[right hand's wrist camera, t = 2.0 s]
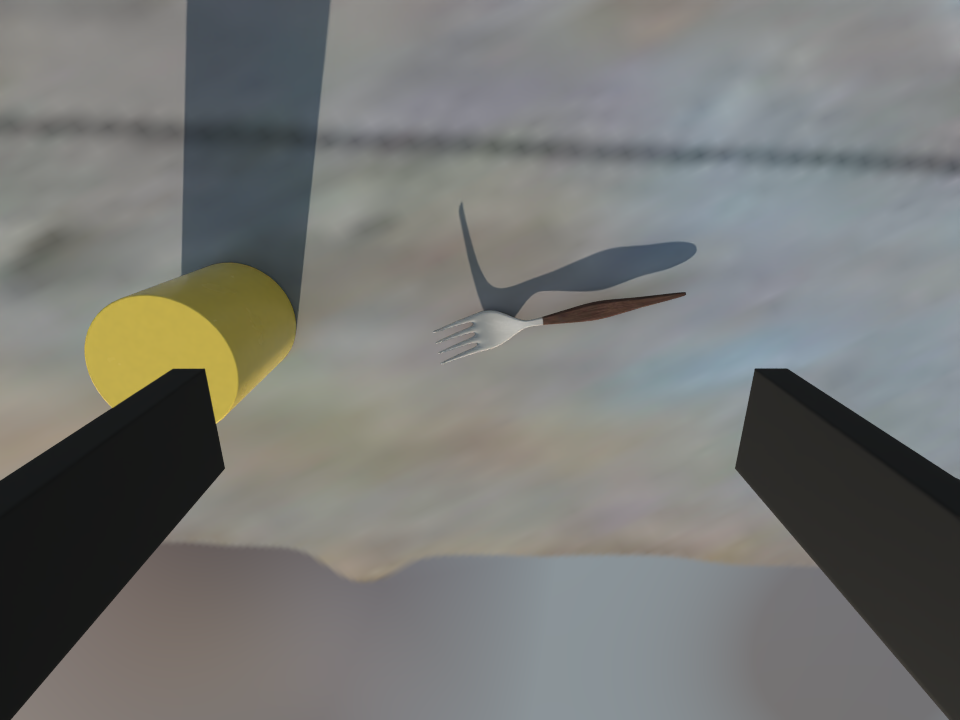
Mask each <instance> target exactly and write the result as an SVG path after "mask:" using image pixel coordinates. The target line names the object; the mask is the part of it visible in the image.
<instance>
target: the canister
mask: <svg viewBox="0 0 960 720" xmlns="http://www.w3.org/2000/svg"><path fill="white" fill-rule="evenodd" d="M295 334H296V320H295V314H294V311H293V308H292V305H291V303H290V301H289V299H288V297H287V295H286V294H285V293H284V291H283V290H282V288H281V287H280V286H279V285H278V284H277V283H276V282H275V281H274V280H273V279H271V278H270V277H269V276H267V275H266V274H264V273H263V272H261V271H259V270H257V269H255V268H253V267H250V266H248V265H244V264H240V263H218V264H214V265H210V266H207V267H205V268H202V269H199V270H196V271H194V272H191V273H188V274H186V275H183V276H180V277H178V278H175V279H172V280H169V281H167V282H164V283H161V284H159V285H156V286H153V287H151V288H148V289H145V290H142V291H140V292H137V293H134V294H132V295H129V296H126V297H123V298H121V299H119V300H116V301H114V302H112V303H111V304H109V305H108V306H106V307H105V308H103V309H102V310H101V311H100V312H99V313H98V314H97V316H96V317H95V318H94V320H93V321H92V323H91V325H90V327H89V329H88V332H87V335H86V340H85V360H86V365H87V369H88V372H89V375H90V377H91V379H92V382H93V384H94V385H95V387H96V389H97V390H98V392H99V393H100V394H101V396H102V397H103V398H104V400H105V401H106V402H107V403H108V404H109V405H110V406H111V407H112V408H113V407H115V406H116V405H118V404H119V403H121V402H122V401H124V400H125V399H127V398H128V397H130V396H132V395H133V394H135V393H136V392H138V391H139V390H141V389H142V388H144V387H145V386H147V385H148V384H150V383H152V382H153V381H155V380H156V379H158V378H159V377H161V376H162V375H164V374H165V373H167V372H168V371H170V370H172V369H205V371H206V376H207V381H208V386H209V391H210V396H211V401H212V406H213V411H214V416H215V421H216V424H217V423H218V422H219V421H220V420H222V419H223V418H224V417H225V416H226V415H227V414H228V413H229V412H230V411H231V410H232V409H233V408H234V407H235V406H236V405H237V404H238V403H239V402H240V401H241V400H242V399H243V398H244V397H245V396H246V395H247V394H248V393H249V392H250V391H251V390H252V389H253V388H254V387H255V386H256V385H257V384H258V383H259V382H260V381H262V380H263V379H264V378H265V377H266V376H267V375H268V374H269V373H270V372H271V371H272V370H273V369H274V368H275V367H276V366H277V365H278V364H279V363H280V362H281V361H282V360H283V359H284V358H285V357H286V355H287V354H288V353H289V351H290V349H291V347H292V345H293V342H294V339H295Z"/></svg>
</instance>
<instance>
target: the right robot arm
mask: <svg viewBox="0 0 960 720" xmlns="http://www.w3.org/2000/svg"><path fill="white" fill-rule="evenodd" d="M224 469H225V467H224V462H223V457H222V451H221V446H220V441H219V436H218V431H217V426H216V421H215V416H214V411H213V406H212V401H211V396H210V391H209V386H208V381H207V376H206V371H205V369H172V370H170V371H168V372H167V373H165V374H164V375H162V376H161V377H159V378H158V379H156V380H155V381H153V382H152V383H150V384H148V385H147V386H145V387H144V388H142V389H141V390H139V391H138V392H136V393H135V394H133V395H132V396H130V397H128V398H127V399H125V400H124V401H122V402H121V403H119V404H118V405H116V406H115V407H113V408H111V409H110V410H108V411H107V412H105V413H104V414H102V415H101V416H99V417H98V418H96V419H95V420H93V421H91V422H90V423H88V424H87V425H85V426H84V427H82V428H81V429H79V430H78V431H76V432H75V433H73V434H71V435H70V436H68V437H67V438H65V439H64V440H62V441H61V442H59V443H58V444H56V445H55V446H53V447H51V448H50V449H48V450H47V451H45V452H44V453H42V454H41V455H39V456H38V457H36V458H34V459H33V460H31V461H30V462H28V463H27V464H25V465H24V466H22V467H21V468H19V469H18V470H16V471H14V472H13V473H11V474H10V475H8V476H7V477H5V478H4V479H2V480H1V481H0V720H11V719H12V718H13V716H14V715H15V714H16V713H17V712H18V711H19V709H20V708H21V707H22V706H23V705H24V704H25V702H26V701H27V700H28V699H29V698H30V697H31V695H32V694H33V693H34V692H35V691H36V689H37V688H38V687H39V686H40V685H41V684H42V682H43V681H44V680H45V679H46V678H47V677H48V675H49V674H50V673H51V672H52V671H53V670H54V668H55V667H56V666H57V665H58V664H59V663H60V661H61V660H62V659H63V658H64V657H65V655H66V654H67V653H68V652H69V651H70V650H71V648H72V647H73V646H74V645H75V644H76V642H77V641H78V640H79V639H80V638H81V637H82V635H83V634H84V633H85V632H86V631H87V630H88V628H89V627H90V626H91V625H92V624H93V623H94V621H95V620H96V619H97V618H98V617H99V616H100V614H101V613H102V612H103V611H104V610H105V609H106V607H107V606H108V605H109V604H110V603H111V601H112V600H113V599H114V598H115V597H116V596H117V594H118V593H119V592H120V591H121V590H122V589H123V587H124V586H125V585H126V584H127V583H128V582H129V580H130V579H131V578H132V577H133V576H134V575H135V573H136V572H137V571H138V570H139V569H140V567H141V566H142V565H143V564H144V563H145V562H146V560H147V559H148V558H149V557H150V556H151V555H152V553H153V552H154V551H155V550H156V549H157V548H158V546H159V545H160V544H161V543H162V542H163V541H164V539H165V538H166V537H167V536H168V535H169V533H170V532H171V531H172V530H173V529H174V528H175V526H176V525H177V524H178V523H179V522H180V521H181V519H182V518H183V517H184V516H185V515H186V514H187V512H188V511H189V510H190V509H191V508H192V506H193V505H194V504H195V503H196V502H197V501H198V499H199V498H200V497H201V496H202V495H203V494H204V492H205V491H206V490H207V489H208V488H209V487H210V485H211V484H212V483H213V482H214V481H215V480H216V478H217V477H218V476H219V475H220V474H221V472H222V471H223V470H224ZM735 469H736V470H737V471H738V472H739V474H740V475H741V476H742V477H743V478H744V480H745V481H746V482H747V483H748V484H749V485H750V487H751V488H752V489H753V490H754V491H755V492H756V494H757V495H758V496H759V497H760V498H761V499H762V501H763V502H764V503H765V504H766V505H767V506H768V508H769V509H770V510H771V511H772V512H773V514H774V515H775V516H776V517H777V518H778V519H779V521H780V522H781V523H782V524H783V525H784V526H785V528H786V529H787V530H788V531H789V532H790V533H791V535H792V536H793V537H794V538H795V539H796V541H797V542H798V543H799V544H800V545H801V546H802V548H803V549H804V550H805V551H806V552H807V553H808V555H809V556H810V557H811V558H812V559H813V560H814V562H815V563H816V564H817V565H818V566H819V567H820V569H821V570H822V571H823V572H824V573H825V575H826V576H827V577H828V578H829V579H830V580H831V582H832V583H833V584H834V585H835V586H836V587H837V589H838V590H839V591H840V592H841V593H842V594H843V596H844V597H845V598H846V599H847V600H848V602H849V603H850V604H851V605H852V606H853V607H854V609H855V610H856V611H857V612H858V613H859V614H860V616H861V617H862V618H863V619H864V620H865V621H866V623H867V624H868V625H869V626H870V627H871V628H872V630H873V631H874V632H875V633H876V634H877V636H878V637H879V638H880V639H881V640H882V641H883V643H884V644H885V645H886V646H887V647H888V648H889V650H890V651H891V652H892V653H893V654H894V655H895V657H896V658H897V659H898V660H899V661H900V663H901V664H902V665H903V666H904V667H905V668H906V670H907V671H908V672H909V673H910V674H911V675H912V677H913V678H914V679H915V680H916V681H917V682H918V684H919V685H920V686H921V687H922V688H923V689H924V691H925V692H926V693H927V694H928V695H929V696H930V698H931V699H932V700H933V701H934V702H935V704H936V705H937V706H938V707H939V708H940V709H941V711H942V712H943V713H944V714H945V715H946V716H947V718H948V719H949V720H960V480H959V479H957V478H955V477H953V476H952V475H950V474H949V473H947V472H946V471H944V470H942V469H941V468H939V467H938V466H936V465H935V464H933V463H932V462H930V461H929V460H927V459H926V458H924V457H922V456H921V455H919V454H918V453H916V452H915V451H913V450H912V449H910V448H909V447H907V446H905V445H904V444H902V443H901V442H899V441H898V440H896V439H895V438H893V437H892V436H890V435H889V434H887V433H885V432H884V431H882V430H881V429H879V428H878V427H876V426H875V425H873V424H872V423H870V422H869V421H867V420H865V419H864V418H862V417H861V416H859V415H858V414H856V413H855V412H853V411H852V410H850V409H849V408H847V407H845V406H844V405H842V404H841V403H839V402H838V401H836V400H835V399H833V398H832V397H830V396H828V395H827V394H825V393H824V392H822V391H821V390H819V389H818V388H816V387H815V386H813V385H812V384H810V383H808V382H807V381H805V380H804V379H802V378H801V377H799V376H798V375H796V374H795V373H793V372H792V371H790V370H788V369H755V371H754V376H753V381H752V386H751V391H750V396H749V401H748V406H747V411H746V416H745V421H744V426H743V431H742V436H741V441H740V446H739V451H738V457H737V462H736V467H735Z"/></svg>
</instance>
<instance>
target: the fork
mask: <svg viewBox="0 0 960 720" xmlns="http://www.w3.org/2000/svg"><path fill="white" fill-rule="evenodd" d="M685 295H686V292H681V293H671V294H662V295H653V296H645V297H635V298H624V299H612V300H603V301H597V302H592V303H588V304H584V305H580V306H577V307H574V308H570V309H567V310H564V311H560V312H557V313H554V314H551V315H547V316H544V317H541V318H537V319H533V320H520V319H517V318H514V317H512V316H509V315H507V314H504V313H502V312H498V311H492V310H487V311H482V312H479V313H476V314H473V315H471V316H469V317H466V318H463V319H461V320H458V321H456V322H454V323H451V324H449V325H447V326H445V327H442V328H440V329H438V330H435V331H433V333H436V332H438V331H441V330H445V329H448V328H451V327H454V326H458V325H461V324H465V323H469V322H472V323H473V325H472V326H471V327H469V328H467V329H464V330H462V331H459V332H457V333H455V334H453V335H450V336H448V337H446V338H444V339H442V340H439V341H437V342H436V343H439V342H442V341H445V340H449V339H452V338H455V337H458V336H461V335H465V334H468V333H475V335H474V336H473V337H471V338H469V339H467V340H465V341H462V342H460V343H458V344H456V345H454V346H451V347H449V348H447V349H445V350H443V351H441V352H439V354H440V353H443V352H446V351H449V350H452V349H455V348H458V347H461V346H464V345H468V344H471V343H477V346H476V347H474V348H472V349H470V350H467V351H465V352H463V353H461V354H458V355H456V356H454V357H452V358H450V359H448V360H446V361H444V362H441V364H444V363H446V362H449V361H452V360H455V359H458V358H461V357H464V356H467V355H470V354H473V353H476V352H480V351H484V350H488V349H491V348H494V347H497V346H499V345H501V344H502V343H504V342H506V341H507V340H508V339H510V338H511V337H512V336H514V335H515V334H516V333H518V332H519V331H521V330H522V329H524V328H527V327H530V326H536V325H546V324H560V323H573V322H584V321H592V320H598V319H603V318H607V317H610V316H614V315H617V314H621V313H624V312H628V311H631V310H634V309H638V308H642V307H645V306H649V305H653V304H656V303H660V302H664V301H668V300H671V299H675V298H678V297H682V296H685Z"/></svg>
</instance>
